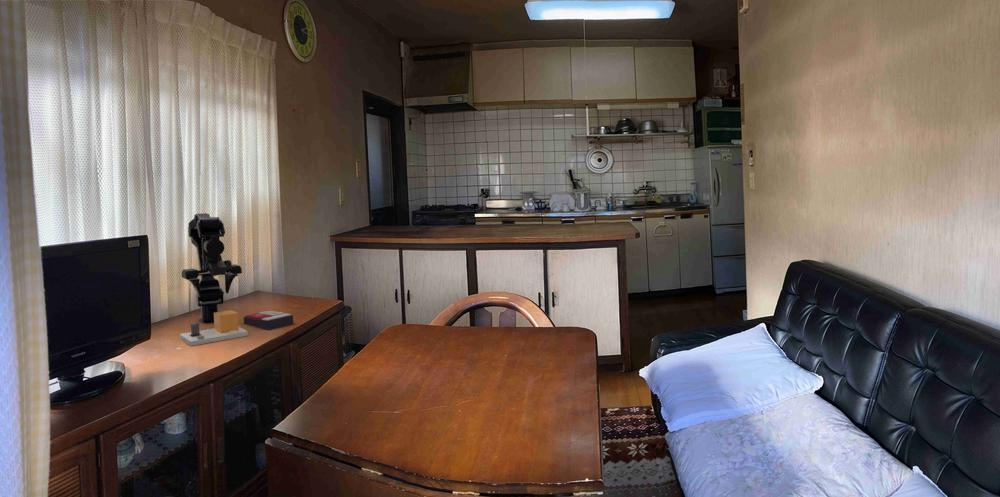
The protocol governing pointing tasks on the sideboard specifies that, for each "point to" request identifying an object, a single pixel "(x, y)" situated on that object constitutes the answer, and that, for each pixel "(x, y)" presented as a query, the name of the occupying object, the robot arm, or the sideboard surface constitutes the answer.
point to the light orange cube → (226, 321)
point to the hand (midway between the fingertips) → (213, 295)
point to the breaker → (195, 329)
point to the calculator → (268, 320)
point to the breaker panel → (211, 336)
